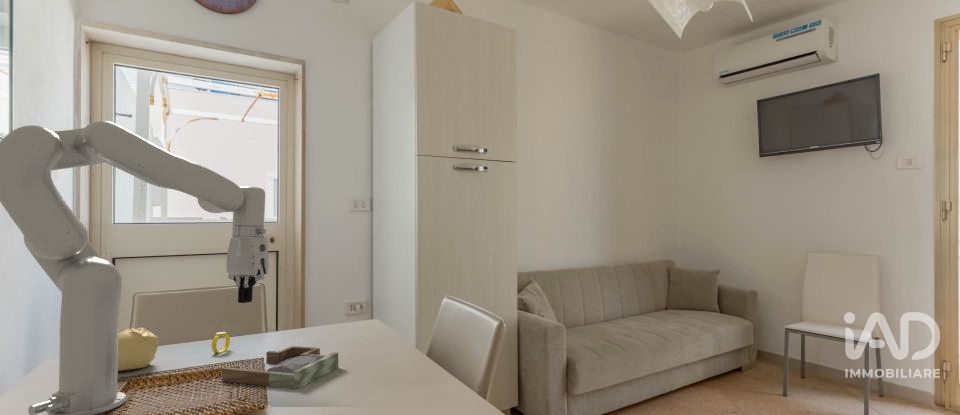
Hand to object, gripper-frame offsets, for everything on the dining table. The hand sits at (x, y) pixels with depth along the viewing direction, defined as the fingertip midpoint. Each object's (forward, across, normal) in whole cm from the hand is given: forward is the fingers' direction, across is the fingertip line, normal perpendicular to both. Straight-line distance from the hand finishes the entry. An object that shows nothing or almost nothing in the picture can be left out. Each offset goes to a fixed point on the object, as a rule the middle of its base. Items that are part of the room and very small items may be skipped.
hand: (245, 302), depth 121 cm
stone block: (+18, -14, -2) cm, 23 cm away
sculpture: (+19, +32, +5) cm, 38 cm away
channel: (+18, -12, -4) cm, 22 cm away
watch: (+18, +21, -14) cm, 32 cm away
